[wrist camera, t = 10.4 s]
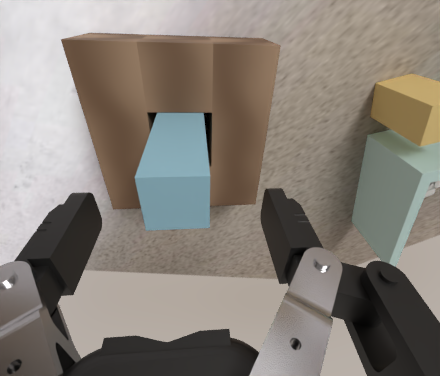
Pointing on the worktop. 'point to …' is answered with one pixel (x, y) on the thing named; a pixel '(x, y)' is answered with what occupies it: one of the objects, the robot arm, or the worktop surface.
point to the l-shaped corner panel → (393, 190)
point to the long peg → (175, 173)
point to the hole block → (175, 103)
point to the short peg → (409, 107)
